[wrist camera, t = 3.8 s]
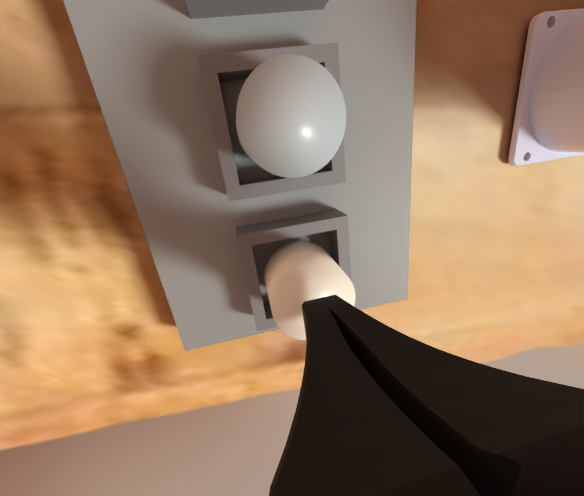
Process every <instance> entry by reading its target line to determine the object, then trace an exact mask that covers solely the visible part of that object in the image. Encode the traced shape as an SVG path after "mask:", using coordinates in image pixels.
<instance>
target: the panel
mask: <svg viewBox="0 0 584 496" xmlns="http://www.w3.org/2000/svg"><path fill="white" fill-rule="evenodd" d="M63 1H64V4H65V7H66V10H67V13H68V16H69V19H70V21H71V24H72V27H73V30H74V33H75V36H76V39H77V42H78V44H79V47H80V50H81V53H82V56H83V59H84V62H85V65H86V67H87V70H88V73H89V76H90V79H91V82H92V85H93V88H94V90H95V93H96V96H97V99H98V102H99V105H100V108H101V110H102V113H103V116H104V119H105V122H106V125H107V128H108V131H109V133H110V136H111V139H112V142H113V145H114V148H115V151H116V154H117V156H118V159H119V162H120V165H121V168H122V171H123V174H124V177H125V179H126V182H127V185H128V188H129V191H130V194H131V197H132V199H133V202H134V205H135V208H136V211H137V214H138V217H139V220H140V222H141V225H142V228H143V231H144V234H145V237H146V240H147V243H148V245H149V248H150V251H151V254H152V257H153V260H154V263H155V266H156V268H157V271H158V274H159V277H160V280H161V283H162V286H163V289H164V291H165V294H166V297H167V300H168V303H169V306H170V309H171V311H172V314H173V317H174V320H175V323H176V326H177V329H178V332H179V334H180V337H181V340H182V343H183V346H184V349H185V351H187V350H191V349H195V348H200V347H204V346H208V345H213V344H217V343H221V342H225V341H230V340H234V339H238V338H242V337H247V336H251V335H255V334H259V333H264V332H268V331H272V330H276V329H279V328H278V326H277V325H276V323H275V321H274V319H273V315H272V311H271V306H270V302H269V297H268V293H267V289H266V284H265V279H264V272H265V267H266V264H267V262H268V260H269V258H270V257H271V255H272V254H273V253H274V252H275V251H276V250H277V249H279V248H280V247H281V246H283V245H285V244H288V243H290V242H294V241H309V242H313V243H315V244H317V245H319V246H321V247H322V248H323V249H324V250H325V251H326V252H327V253H328V254H329V255H330V257H331V258H332V259H333V260H334V261H335V262H336V263H337V265H338V266H339V267H340V268H341V269H342V270H343V271H344V273H345V274H346V275H347V276H348V277H349V278H350V280H351V281H352V283H353V286H354V289H355V295H356V296H355V305H354V307H356V308H357V309H359V310H362V309H366V308H370V307H374V306H379V305H383V304H387V303H391V302H396V301H400V300H404V299H407V297H408V265H409V232H410V200H411V167H412V135H413V102H414V70H415V37H416V5H417V0H63ZM285 54H295V55H302V56H305V57H308V58H310V59H313V60H315V61H316V62H318V63H319V64H321V65H322V66H323V67H325V68H326V69H327V70H328V71H329V72H330V74H331V75H332V76H333V77H334V79H335V80H336V82H337V83H338V85H339V87H340V89H341V92H342V95H343V97H344V102H345V106H346V128H345V133H344V137H343V139H342V142H341V145H340V147H339V149H338V151H337V152H336V154H335V155H334V157H333V158H332V159H331V160H330V161H329V162H328V163H327V164H326V165H325V166H324V167H323V168H321V169H320V170H318V171H316V172H315V173H313V174H310V175H307V176H304V177H298V178H286V177H280V176H277V175H274V174H272V173H270V172H268V171H266V170H265V169H263V168H262V167H260V166H259V165H257V164H256V163H255V162H254V161H252V160H251V159H250V158H249V157H248V155H247V154H246V153H245V151H244V150H243V148H242V146H241V144H240V142H239V139H238V136H237V131H236V110H237V102H238V98H239V94H240V92H241V89H242V86H243V85H244V83H245V81H246V79H247V78H248V76H249V75H250V74H251V73H252V71H253V70H254V69H255V68H256V67H258V66H259V65H260V64H262V63H263V62H265V61H266V60H268V59H270V58H273V57H276V56H279V55H285Z"/></svg>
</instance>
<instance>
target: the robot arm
mask: <svg viewBox="0 0 584 496" xmlns="http://www.w3.org/2000/svg"><path fill="white" fill-rule="evenodd" d="M547 21H548V25H547ZM524 155H525V156H524ZM578 155H584V8H580V9H569V10H557V11H546V12H542V13H540V14H537V15H535V16H534V17H533V18H532V20H531V22H530V25H529V30H528V36H527V42H526V49H525V55H524V62H523V68H522V75H521V81H520V87H519V94H518V100H517V107H516V113H515V120H514V126H513V132H512V139H511V145H510V152H509V158H508V162H509V164H510V165H512V166H520V165H526V164H532V163H538V162H544V161H549V160H555V159H561V158H567V157H572V156H578ZM302 312H303V319H304V326H305V334H306V341H307V346H306V360H305V368H304V374H303V380H302V385H301V390H300V395H299V400H298V404H297V408H296V412H295V415H294V419H293V422H292V426H291V429H290V433H289V436H288V439H287V442H286V445H285V448H284V451H283V454H282V457H281V459H280V462H279V465H278V468H277V470H276V473H275V476H274V479H273V481H272V484H271V487H270V493H269V496H584V389H580V388H575V387H571V386H566V385H562V384H557V383H553V382H548V381H543V380H539V379H535V378H530V377H526V376H522V375H518V374H514V373H511V372H507V371H503V370H500V369H496V368H492V367H489V366H486V365H483V364H479V363H476V362H473V361H470V360H467V359H464V358H461V357H458V356H455V355H452V354H450V353H447V352H444V351H441V350H439V349H436V348H434V347H431V346H429V345H427V344H424V343H422V342H420V341H417V340H415V339H413V338H410V337H408V336H406V335H404V334H402V333H400V332H398V331H396V330H394V329H392V328H390V327H388V326H386V325H385V324H383V323H381V322H379V321H377V320H376V319H374V318H372V317H370V316H369V315H367V314H365V313H364V312H362V311H361V310H359V309H357V308H356V307H354V306H353V305H351V304H349V303H348V302H346V301H345V300H343V299H342V298H340V297H338V296H337V295H331V296H327V297H322V298H318V299H313V300H309V301H305V302H303V304H302Z"/></svg>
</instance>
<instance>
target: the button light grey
mask: <svg viewBox="0 0 584 496" xmlns="http://www.w3.org/2000/svg"><path fill="white" fill-rule="evenodd" d="M345 128H346V106H345V102H344V97H343V95H342V92H341V89H340V87H339V85H338V83H337V82H336V80H335V79H334V77H333V76H332V75H331V74H330V72H329V71H328V70H327V69H326V68H325V67H323V66H322V65H321V64H319V63H318V62H316V61H315V60H313V59H310V58H308V57H305V56H302V55H295V54H285V55H279V56H276V57H273V58H270V59H268V60H266V61H265V62H263V63H262V64H260V65H259V66H258V67H256V68H255V69H254V70H253V71H252V73H251V74H250V75H249V76H248V78H247V79H246V81H245V83H244V85H243V86H242V89H241V92H240V94H239V98H238V102H237V110H236V131H237V136H238V139H239V142H240V144H241V146H242V148H243V150H244V151H245V153H246V154H247V155H248V157H249V158H250V159H251V160H252V161H254V162H255V163H256V164H257V165H259V166H260V167H262V168H263V169H265V170H266V171H268V172H270V173H272V174H274V175H277V176H280V177H286V178H298V177H304V176H307V175H310V174H313V173H315V172H316V171H318V170H320V169H321V168H323V167H324V166H325V165H326V164H327V163H328V162H329V161H330V160H331V159H332V158H333V157H334V155H335V154H336V152H337V151H338V149H339V147H340V145H341V142H342V139H343V137H344V133H345Z"/></svg>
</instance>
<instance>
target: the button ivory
mask: <svg viewBox="0 0 584 496" xmlns="http://www.w3.org/2000/svg"><path fill="white" fill-rule="evenodd" d="M264 279H265V284H266V289H267V293H268V297H269V302H270V306H271V311H272V315H273V319H274V321H275V323H276V325H277V326H278V328H279V329H280V330H281V331H282V332H283V333H285V334H286V335H288V336H290V337H292V338H295V339H299V340H306V334H305V326H304V319H303V312H302V304H303V302H305V301H309V300H313V299H318V298H322V297H327V296H331V295H337V296H338V297H340V298H342V299H343V300H345V301H346V302H348V303H349V304H351V305H353V306H354V305H355V296H356V295H355V289H354V286H353V283H352V281H351V280H350V278H349V277H348V276H347V275H346V274H345V273H344V271H343V270H342V269H341V268H340V267H339V266H338V265H337V263H336V262H335V261H334V260H333V259H332V258H331V257H330V255H329V254H328V253H327V252H326V251H325V250H324V249H323V248H322V247H321V246H319V245H317V244H315V243H313V242H309V241H294V242H290V243H288V244H285V245H283V246H281V247H280V248H279V249H277V250H276V251H275V252H274V253H273V254H272V255H271V257H270V258H269V260H268V262H267V264H266V267H265V272H264Z"/></svg>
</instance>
